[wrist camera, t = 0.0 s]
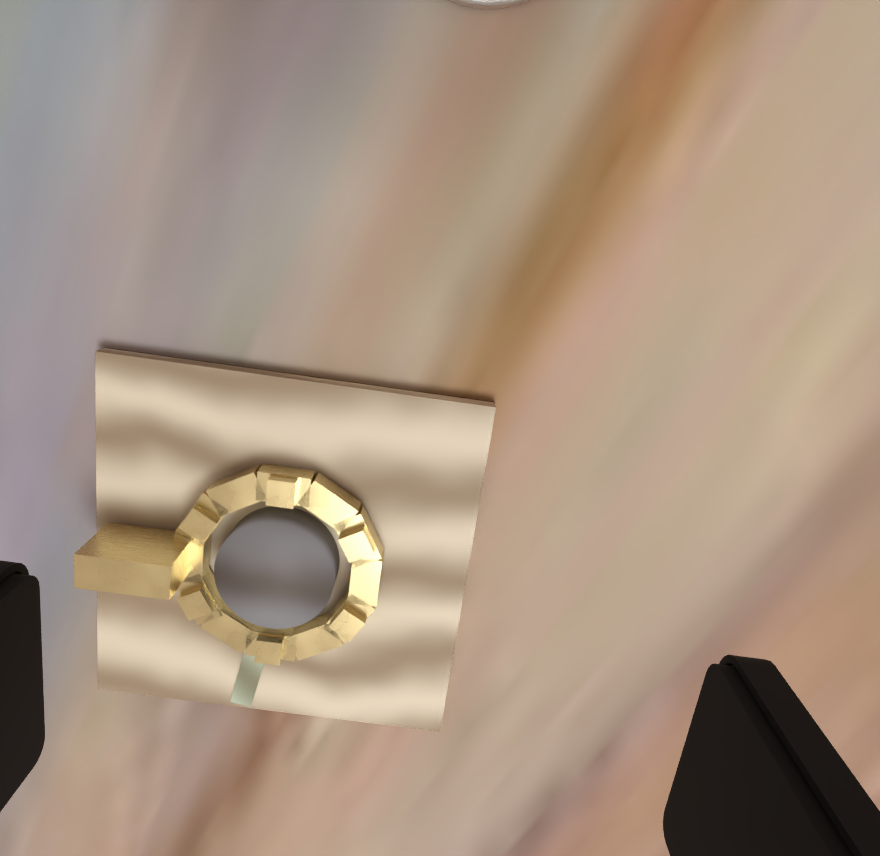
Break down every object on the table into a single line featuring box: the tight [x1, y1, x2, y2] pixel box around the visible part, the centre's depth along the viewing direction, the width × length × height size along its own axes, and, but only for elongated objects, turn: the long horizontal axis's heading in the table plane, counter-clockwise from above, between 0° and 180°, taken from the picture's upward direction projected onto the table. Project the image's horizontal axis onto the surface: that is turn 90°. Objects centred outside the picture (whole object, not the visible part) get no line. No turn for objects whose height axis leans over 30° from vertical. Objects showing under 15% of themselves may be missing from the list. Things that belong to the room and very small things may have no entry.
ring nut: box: [74, 464, 384, 666], centre depth 46 cm, size 14×19×5 cm
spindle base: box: [95, 348, 496, 732], centre depth 48 cm, size 26×26×4 cm
